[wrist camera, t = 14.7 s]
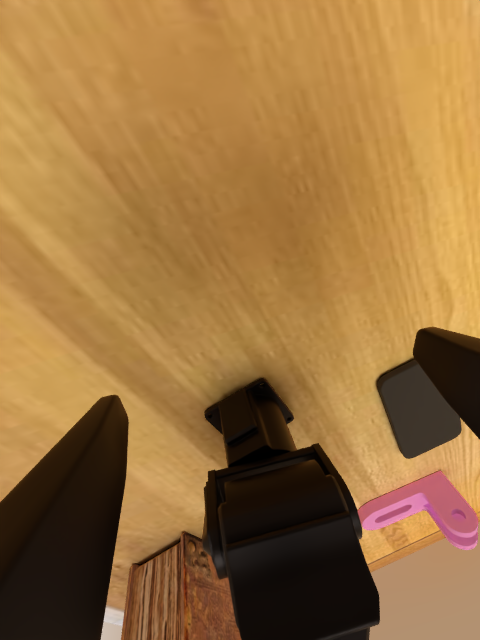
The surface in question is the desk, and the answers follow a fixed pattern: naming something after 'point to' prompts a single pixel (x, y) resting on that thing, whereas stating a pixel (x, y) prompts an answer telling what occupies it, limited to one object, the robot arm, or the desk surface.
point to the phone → (417, 410)
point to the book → (179, 597)
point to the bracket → (426, 509)
